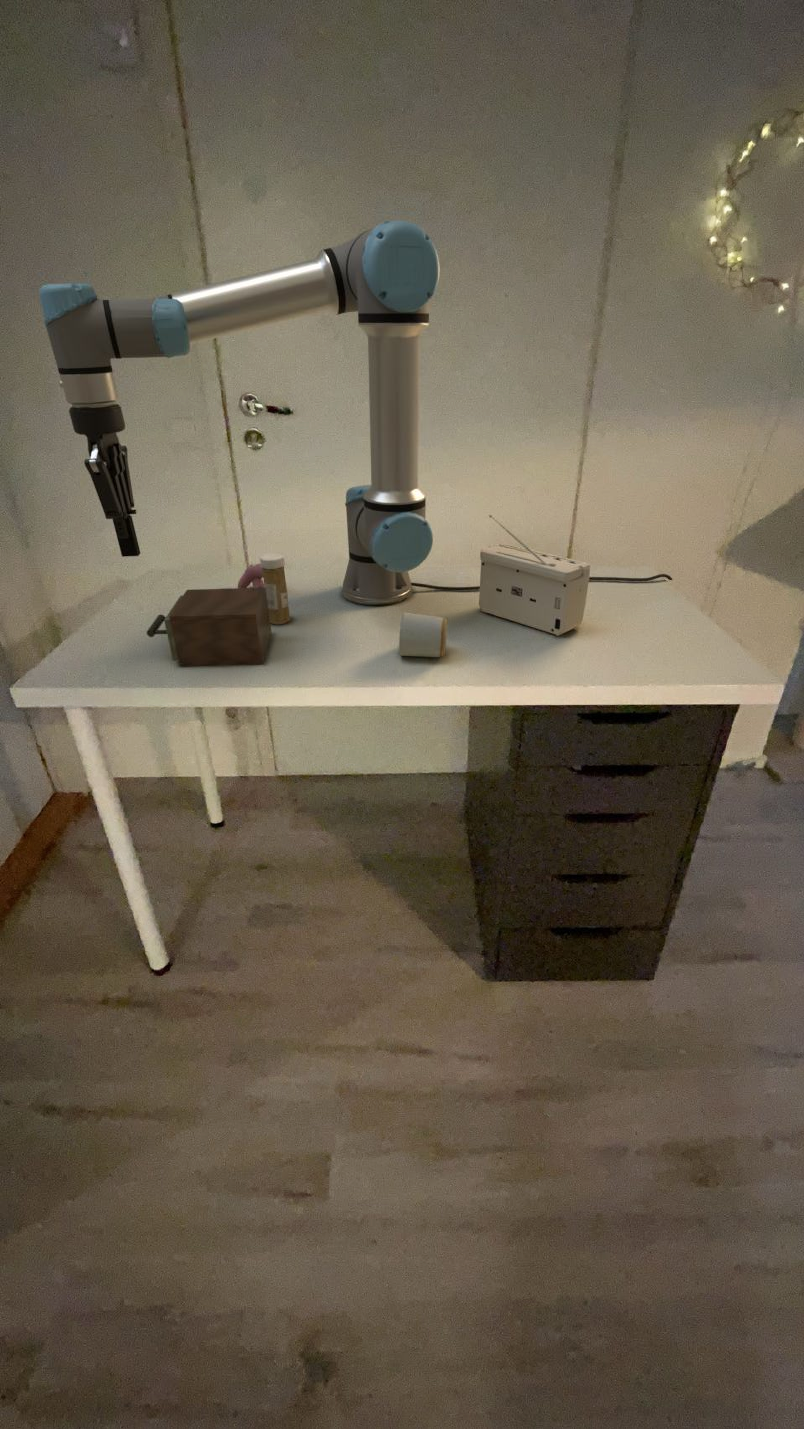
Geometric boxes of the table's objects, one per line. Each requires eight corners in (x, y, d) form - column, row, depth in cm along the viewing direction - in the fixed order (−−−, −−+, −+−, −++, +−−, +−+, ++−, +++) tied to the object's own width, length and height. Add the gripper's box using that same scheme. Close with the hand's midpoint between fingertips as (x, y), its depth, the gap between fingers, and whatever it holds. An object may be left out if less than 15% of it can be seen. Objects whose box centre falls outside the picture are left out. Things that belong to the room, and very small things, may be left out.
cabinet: (179, 666, 116) (169, 616, 110) (195, 636, 126) (186, 589, 121) (262, 664, 116) (255, 613, 111) (271, 634, 127) (265, 587, 122)
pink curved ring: (281, 600, 146) (287, 569, 145) (267, 597, 142) (274, 565, 141) (248, 592, 150) (254, 562, 149) (234, 589, 146) (240, 558, 145)
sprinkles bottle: (294, 621, 132) (287, 556, 125) (273, 627, 130) (265, 561, 123) (284, 614, 135) (277, 550, 128) (264, 619, 133) (255, 555, 126)
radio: (583, 627, 128) (598, 525, 117) (561, 640, 123) (575, 534, 112) (496, 601, 140) (503, 506, 130) (473, 612, 135) (477, 514, 124)
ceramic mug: (444, 664, 115) (445, 624, 111) (398, 662, 116) (398, 622, 112) (447, 640, 124) (449, 601, 120) (405, 638, 125) (404, 600, 121)
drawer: (148, 661, 115) (138, 620, 111) (165, 634, 125) (157, 596, 121) (249, 658, 116) (243, 617, 112) (258, 631, 126) (253, 593, 122)
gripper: (85, 400, 105) (121, 544, 118) (51, 410, 94) (95, 568, 107) (132, 398, 106) (163, 542, 118) (103, 409, 94) (141, 566, 107)
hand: (131, 554), depth 112 cm, fingers closed
